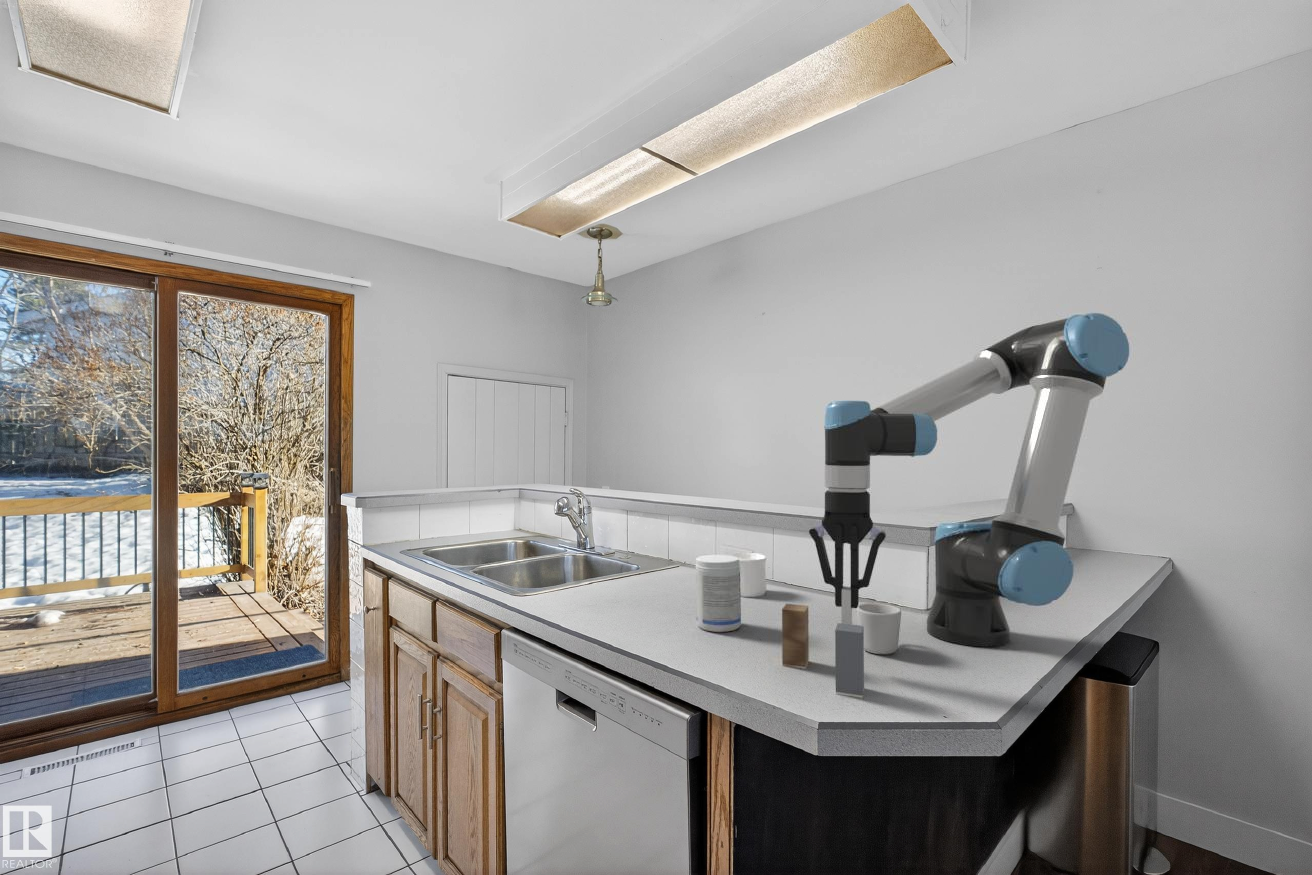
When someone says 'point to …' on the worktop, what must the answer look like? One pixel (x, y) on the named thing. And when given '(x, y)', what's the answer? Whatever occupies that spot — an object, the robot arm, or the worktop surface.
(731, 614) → the supplement tub
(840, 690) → the charcoal block
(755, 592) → the cup
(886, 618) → the cup
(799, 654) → the walnut block
